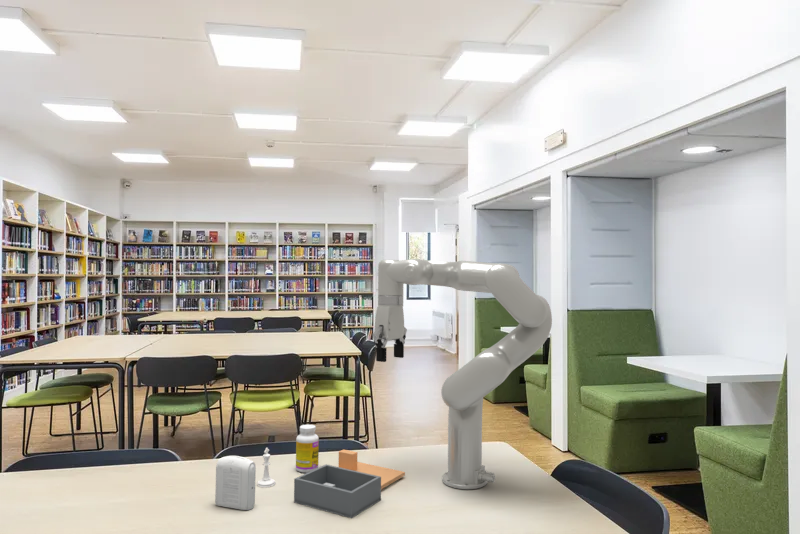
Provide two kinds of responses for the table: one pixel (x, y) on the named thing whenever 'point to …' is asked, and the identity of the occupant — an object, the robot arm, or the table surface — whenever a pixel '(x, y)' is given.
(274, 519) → the table surface
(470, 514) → the table surface
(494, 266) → the robot arm
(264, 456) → the chess piece
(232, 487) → the photo printer
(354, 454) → the lid
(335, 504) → the tub
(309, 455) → the supplement bottle
